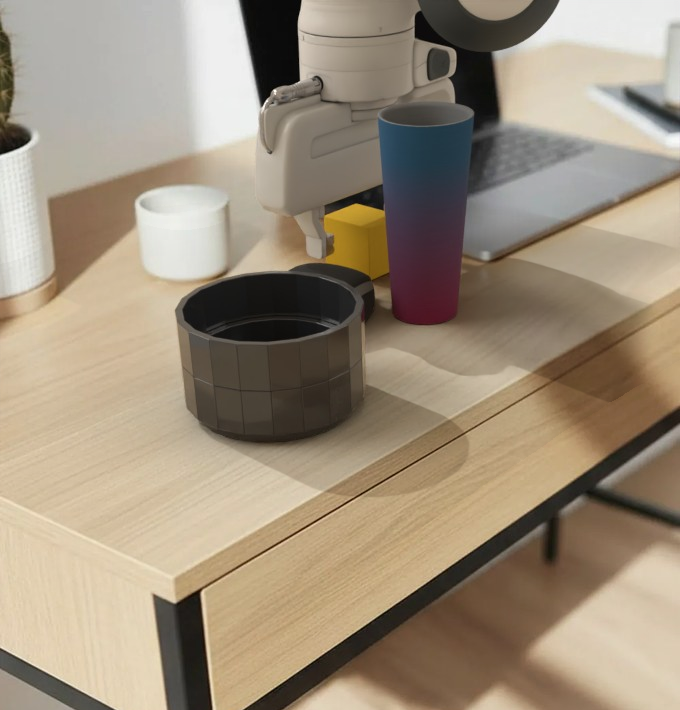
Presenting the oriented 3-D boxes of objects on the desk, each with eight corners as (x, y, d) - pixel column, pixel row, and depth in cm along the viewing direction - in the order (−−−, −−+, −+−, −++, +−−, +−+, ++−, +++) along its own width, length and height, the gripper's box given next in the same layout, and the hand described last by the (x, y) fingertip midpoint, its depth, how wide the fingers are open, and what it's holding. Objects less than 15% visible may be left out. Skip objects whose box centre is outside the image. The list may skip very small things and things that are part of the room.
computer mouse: (231, 345, 89) (226, 294, 86) (318, 288, 97) (315, 241, 95) (312, 364, 85) (309, 312, 83) (394, 303, 94) (393, 254, 92)
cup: (484, 319, 91) (491, 118, 83) (402, 336, 89) (401, 131, 81) (445, 288, 96) (448, 96, 88) (367, 303, 94) (362, 108, 86)
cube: (401, 267, 101) (401, 215, 98) (369, 281, 98) (368, 228, 96) (357, 254, 104) (356, 203, 101) (325, 267, 101) (323, 215, 99)
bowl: (402, 396, 81) (401, 299, 77) (274, 466, 73) (266, 362, 70) (277, 349, 88) (271, 257, 84) (149, 408, 81) (136, 311, 77)
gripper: (290, 99, 84) (298, 285, 92) (470, 48, 97) (465, 216, 104) (229, 86, 88) (242, 266, 95) (410, 39, 100) (409, 201, 108)
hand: (360, 239), depth 100 cm, fingers open, 8 cm apart
